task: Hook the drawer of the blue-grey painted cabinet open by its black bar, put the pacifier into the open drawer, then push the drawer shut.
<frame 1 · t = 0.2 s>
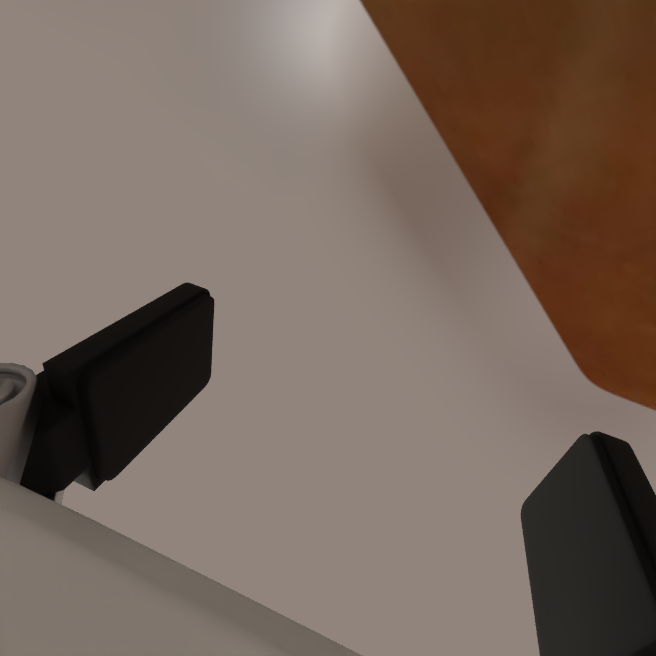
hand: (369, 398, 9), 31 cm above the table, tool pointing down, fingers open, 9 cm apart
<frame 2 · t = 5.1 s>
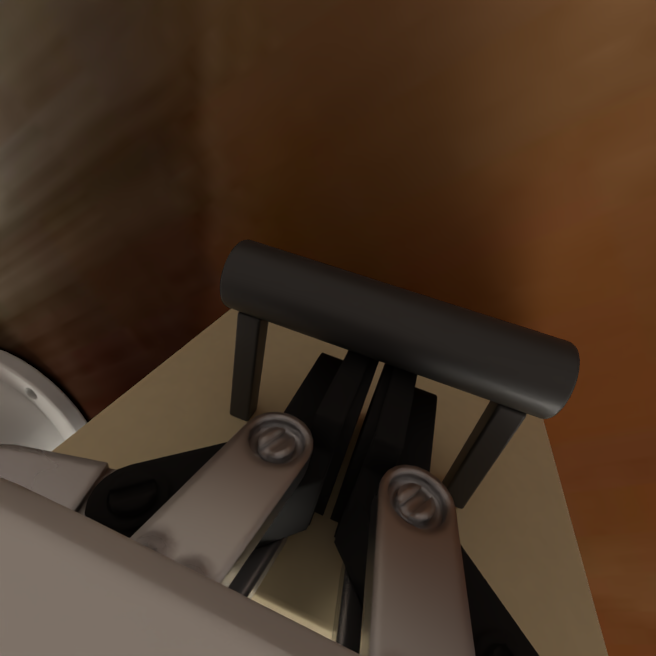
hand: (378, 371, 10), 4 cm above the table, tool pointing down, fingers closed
drawer: (314, 536, 13), point 5 cm above the table, slide at 3.2 cm
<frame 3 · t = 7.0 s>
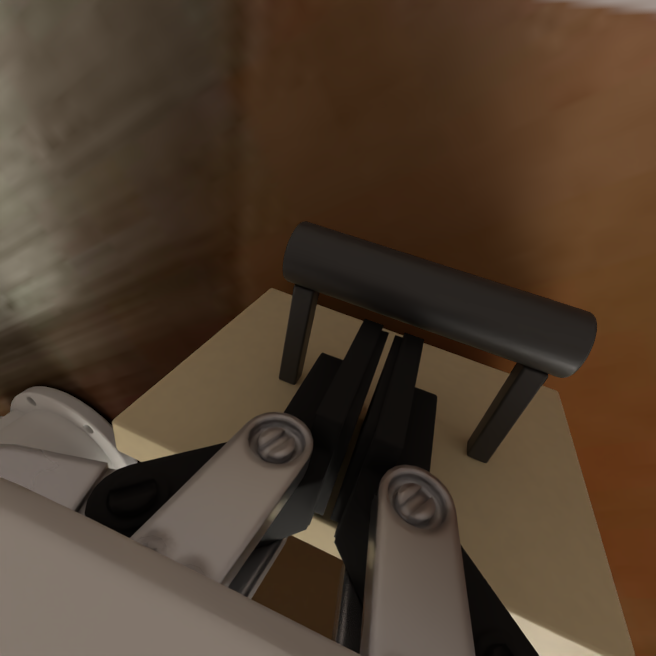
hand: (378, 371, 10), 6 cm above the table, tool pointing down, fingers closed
drawer: (345, 495, 15), point 5 cm above the table, slide at 9.2 cm
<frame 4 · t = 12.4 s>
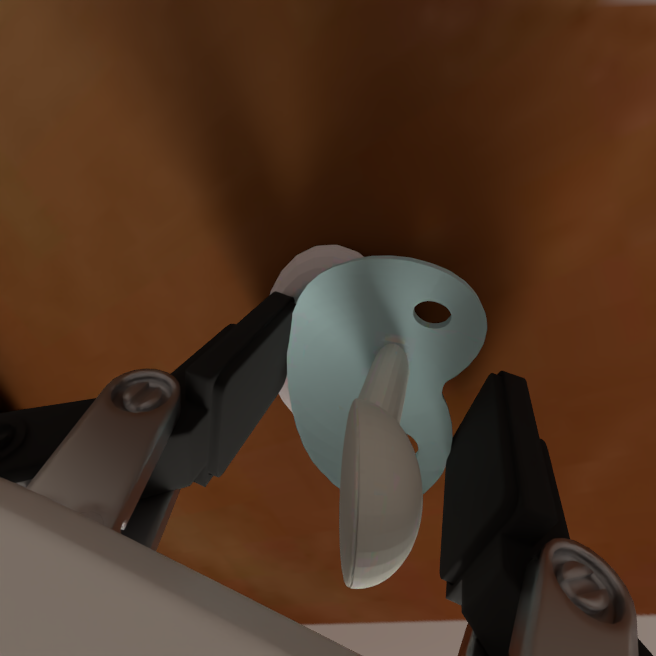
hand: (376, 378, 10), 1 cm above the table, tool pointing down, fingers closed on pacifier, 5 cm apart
pacifier: (363, 344, 11), on the table, touching gripper
when the fingers open (9 cm above the table, at t = 18.2 s): pacifier drops 6 cm, resting on drawer.
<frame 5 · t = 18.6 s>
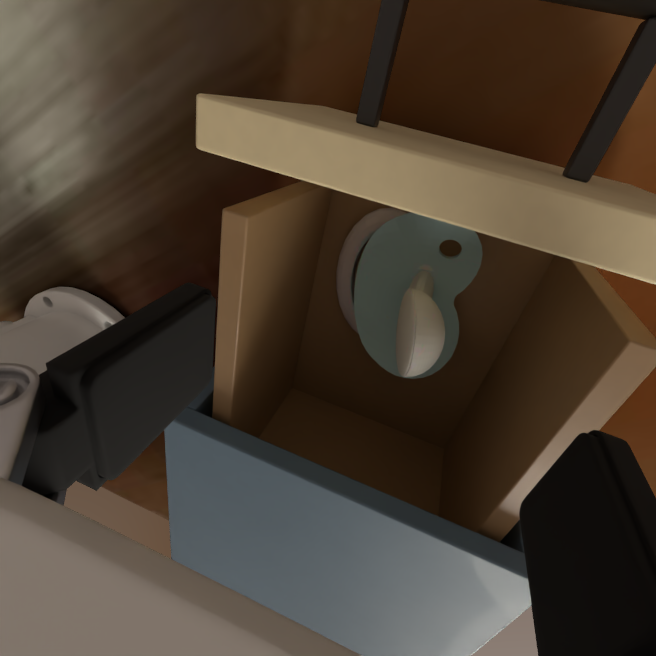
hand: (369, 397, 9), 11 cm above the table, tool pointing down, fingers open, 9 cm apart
cabinet: (358, 434, 25), on the table
pacifier: (402, 277, 17), point 2 cm above the table, touching drawer
drawer: (409, 300, 14), point 5 cm above the table, slide at 8.9 cm, touching pacifier
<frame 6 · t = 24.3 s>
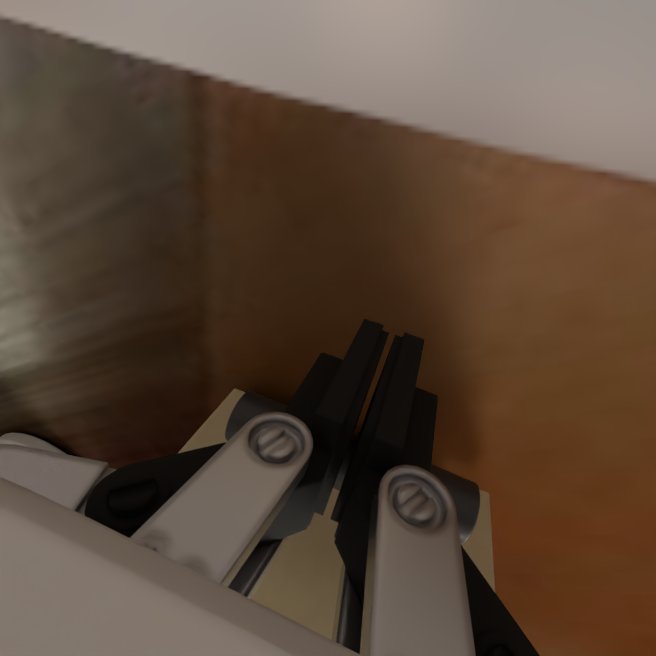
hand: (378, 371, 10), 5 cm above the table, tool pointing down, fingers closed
drawer: (299, 588, 16), point 5 cm above the table, slide at 7.8 cm, touching gripper, pacifier
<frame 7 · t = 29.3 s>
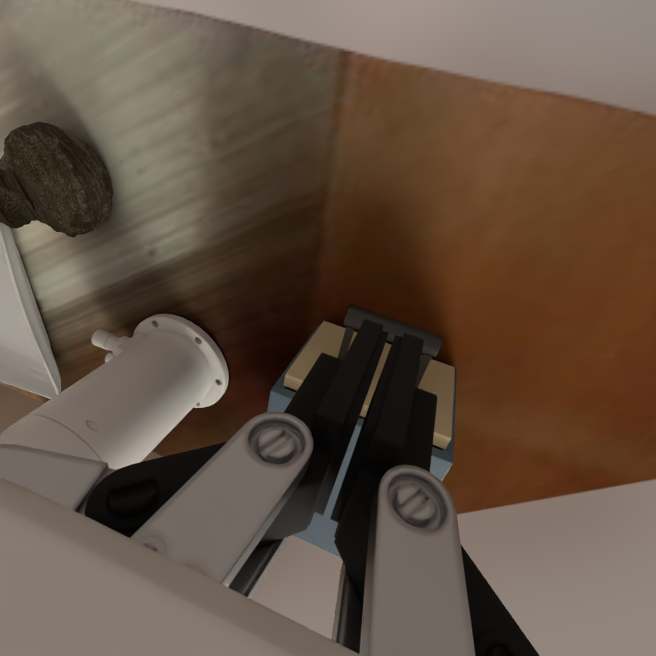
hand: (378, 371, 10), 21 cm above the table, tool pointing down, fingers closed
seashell: (96, 182, 36), on the table
cabinet: (363, 410, 39), on the table
drawer: (361, 415, 32), point 5 cm above the table, slide at 0.0 cm, touching pacifier
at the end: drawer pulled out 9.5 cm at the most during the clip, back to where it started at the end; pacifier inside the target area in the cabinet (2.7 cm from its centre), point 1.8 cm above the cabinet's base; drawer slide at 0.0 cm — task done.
